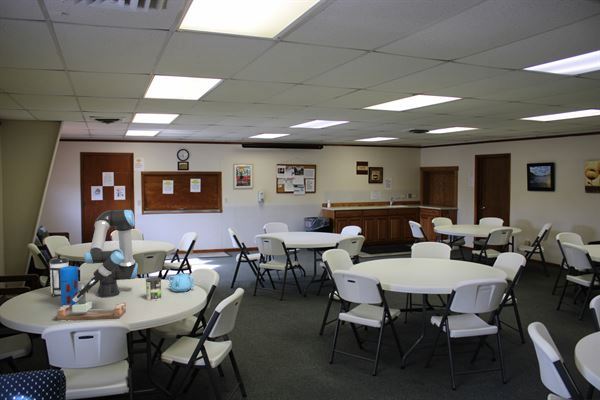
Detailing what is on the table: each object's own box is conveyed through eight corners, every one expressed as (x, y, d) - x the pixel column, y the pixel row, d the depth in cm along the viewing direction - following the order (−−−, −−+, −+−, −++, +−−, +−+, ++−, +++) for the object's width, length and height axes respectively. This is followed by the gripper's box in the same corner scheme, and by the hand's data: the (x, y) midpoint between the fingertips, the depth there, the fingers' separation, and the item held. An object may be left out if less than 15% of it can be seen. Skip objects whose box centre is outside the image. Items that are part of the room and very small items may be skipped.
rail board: (65, 314, 287) (64, 303, 287) (127, 311, 291) (127, 301, 291) (55, 321, 273) (55, 310, 273) (121, 318, 277) (120, 307, 277)
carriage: (78, 307, 286) (77, 282, 285) (92, 307, 287) (91, 282, 286) (72, 312, 276) (71, 286, 275) (86, 312, 277) (85, 286, 276)
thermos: (82, 302, 313) (81, 266, 312) (70, 307, 303) (68, 269, 301) (70, 301, 316) (68, 266, 315) (57, 305, 306) (56, 269, 305)
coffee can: (164, 297, 326) (163, 277, 325) (156, 301, 316) (156, 280, 315) (151, 296, 328) (150, 277, 327) (143, 300, 318) (142, 280, 317)
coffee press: (42, 296, 331) (41, 255, 329) (61, 291, 345) (60, 252, 344) (60, 298, 324) (58, 257, 323) (78, 293, 339) (77, 253, 337)
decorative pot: (196, 291, 342) (195, 273, 342) (175, 294, 333) (175, 276, 332) (187, 287, 355) (187, 269, 355) (167, 290, 346) (166, 272, 345)
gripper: (102, 279, 273) (74, 308, 273) (111, 273, 290) (85, 300, 290) (93, 271, 272) (65, 299, 272) (102, 265, 289) (76, 292, 289)
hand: (75, 299), depth 281 cm, fingers closed on carriage, 4 cm apart
